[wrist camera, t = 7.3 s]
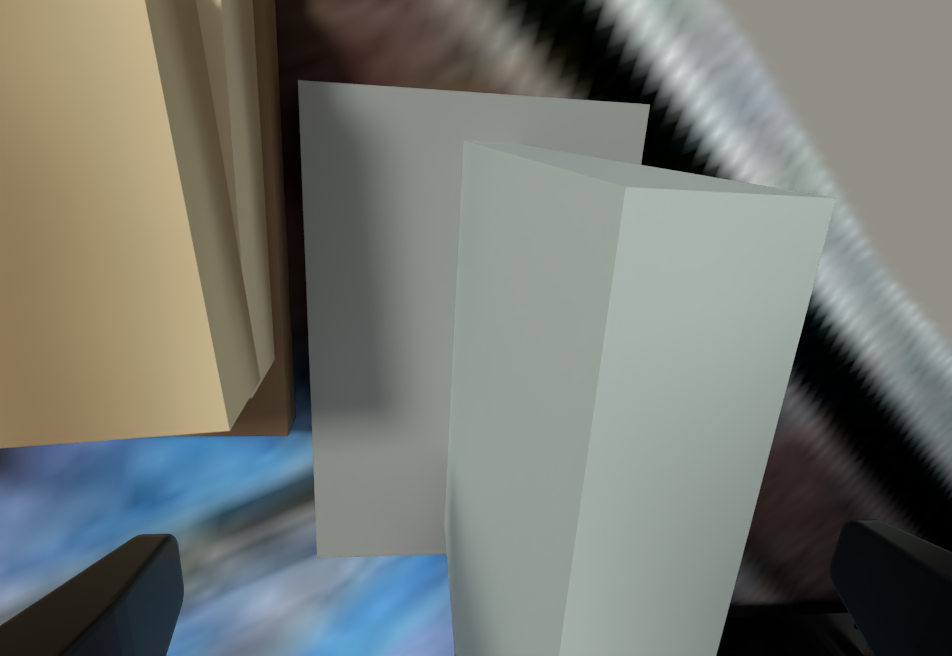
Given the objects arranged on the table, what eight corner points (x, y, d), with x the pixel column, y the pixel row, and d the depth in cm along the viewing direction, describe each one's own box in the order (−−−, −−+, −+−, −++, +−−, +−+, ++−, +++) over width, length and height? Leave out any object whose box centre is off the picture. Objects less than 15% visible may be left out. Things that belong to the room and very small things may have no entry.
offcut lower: (250, -43, 11) (215, -79, 9) (274, 359, 13) (252, 398, 11) (-36, -69, 10) (-141, -114, 8) (49, 356, 13) (-14, 396, 11)
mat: (639, 105, 13) (650, 104, 13) (578, 536, 17) (584, 550, 16) (303, 82, 12) (297, 79, 12) (320, 542, 16) (317, 557, 16)
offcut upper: (192, -20, 9) (134, -58, 7) (260, 380, 11) (229, 431, 9) (-116, -17, 8) (-265, -58, 7) (20, 396, 11) (-63, 453, 9)
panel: (517, 144, 12) (836, 198, 3) (487, 523, 16) (598, 1105, 6) (463, 140, 12) (626, 186, 3) (444, 523, 16) (492, 1119, 6)
